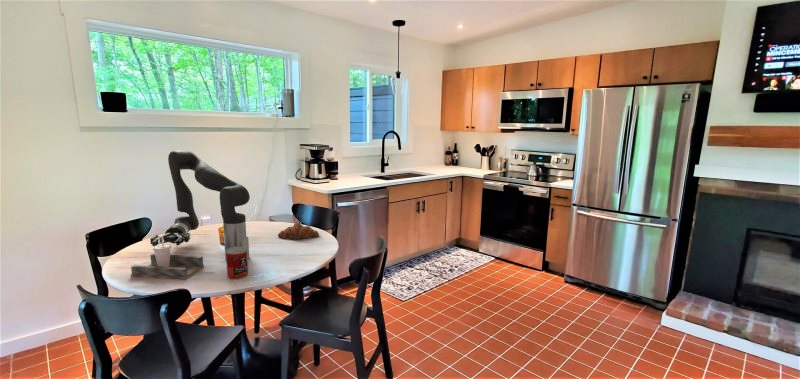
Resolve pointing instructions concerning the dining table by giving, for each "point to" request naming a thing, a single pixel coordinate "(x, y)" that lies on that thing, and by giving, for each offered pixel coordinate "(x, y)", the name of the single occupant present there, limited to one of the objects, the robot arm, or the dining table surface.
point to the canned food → (237, 262)
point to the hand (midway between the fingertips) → (165, 243)
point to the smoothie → (162, 254)
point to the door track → (170, 268)
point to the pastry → (298, 232)
